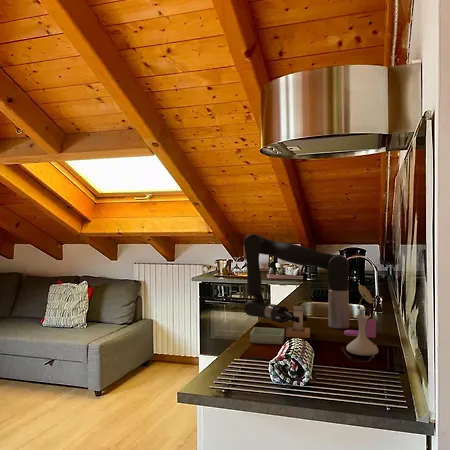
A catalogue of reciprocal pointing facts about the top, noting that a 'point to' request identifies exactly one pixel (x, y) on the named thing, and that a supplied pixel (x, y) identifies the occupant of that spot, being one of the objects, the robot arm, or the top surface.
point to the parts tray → (267, 335)
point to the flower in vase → (362, 330)
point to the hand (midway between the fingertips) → (302, 319)
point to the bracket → (369, 331)
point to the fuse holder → (298, 332)
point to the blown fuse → (299, 313)
